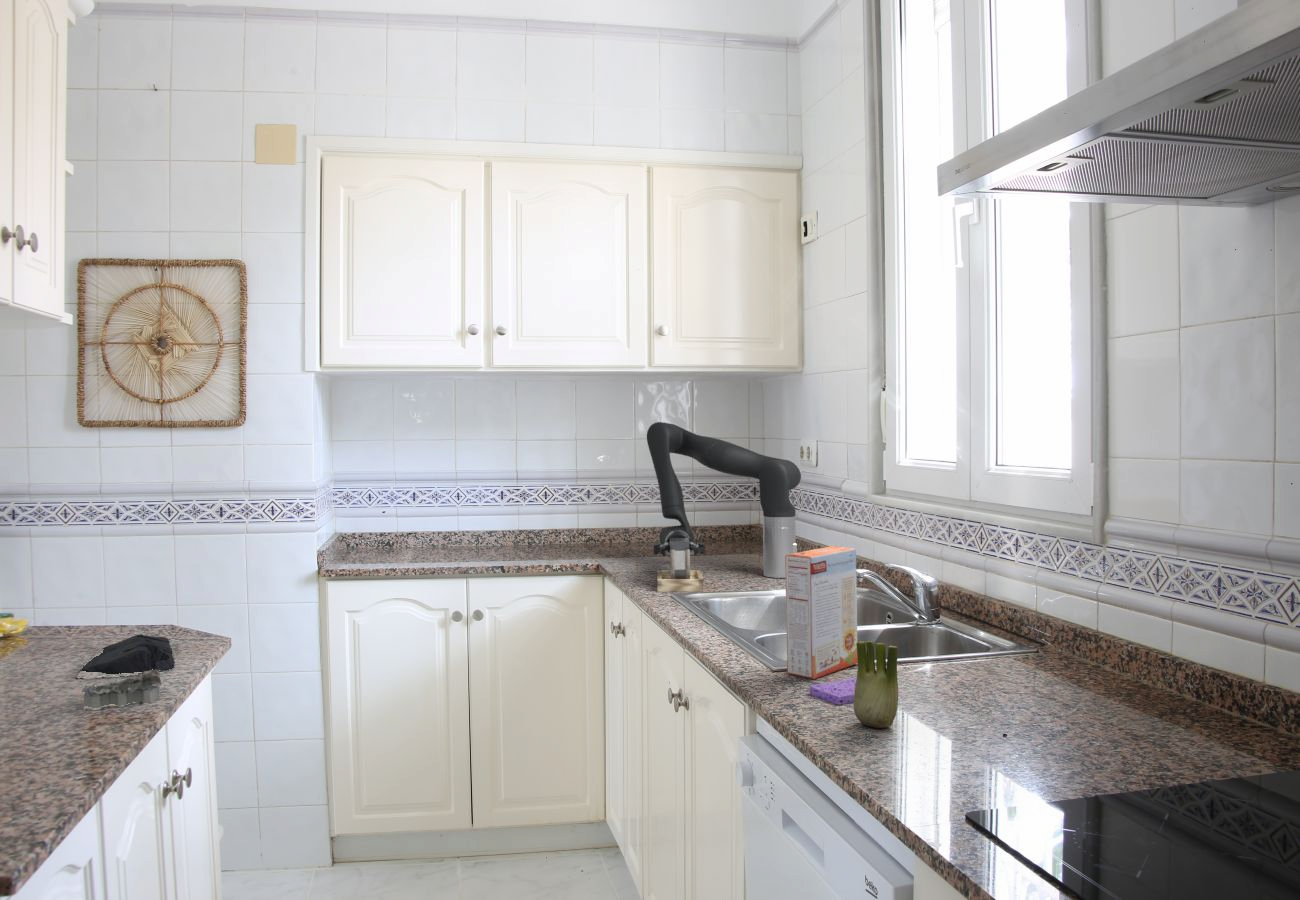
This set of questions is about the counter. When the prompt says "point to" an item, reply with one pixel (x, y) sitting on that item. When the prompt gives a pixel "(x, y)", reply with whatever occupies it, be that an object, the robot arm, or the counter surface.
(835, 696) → the sponges
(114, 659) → the dark slate chunk
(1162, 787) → the counter surface
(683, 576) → the block
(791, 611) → the cracker box
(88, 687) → the egg carton
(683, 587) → the wooden rack with posts
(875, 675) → the fennel bulb
